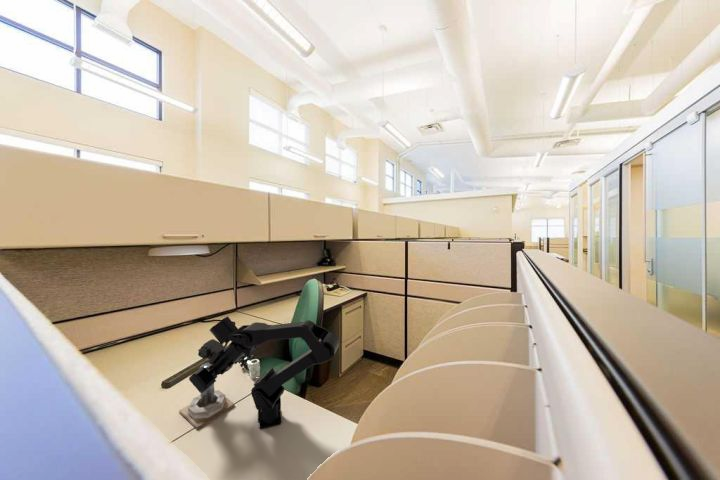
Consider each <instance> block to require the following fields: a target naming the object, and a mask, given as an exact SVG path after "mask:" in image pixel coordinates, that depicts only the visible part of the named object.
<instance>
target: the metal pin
mask: <svg viewBox="0 0 720 480" xmlns="http://www.w3.org/2000/svg"><path fill="white" fill-rule="evenodd" d="M211 365H212V364H210V363H209V362H205V363H203V364H201V365H200V366H199V369H200V368H201V367H205V368H206V369H207V370H208V371H209V369H208V368H209V367H210V366H211ZM212 369H213V368H212ZM212 369H211V370H212ZM214 391H215V382H214V383H213V384H212V385H211V386H210V387H209V388H208V389H207V390H206V391H204V392H203V393H200V395H201V404H209V403H211V402H212V401H213V400H214V399H215V394H214Z"/></svg>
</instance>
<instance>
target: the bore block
mask: <svg viewBox="0 0 720 480" xmlns="http://www.w3.org/2000/svg"><path fill="white" fill-rule="evenodd" d="M214 394H215V399H214V400H213V401H212V402H211V403H209V404H201V394H199V395H197V396H195V397H194V398H192V400H191V402H190V404H189V405H186V406H185V407H183V408H180V409H179V411H178V412H179V414H180V415H181V416H182V417H183V418H184V419H185V420H187V421H188V423H190V425H192V426H193V428H195V429H196V430H199V429H201V428H202V427H204V426H206V425H207V424H209V423H210V422H212V421H213V420H215V419H216V417H217V418H218V417H220V416H221V415H224V413H226V412H228V411H230V410H231V409H232V408H234V407H235V406H236V405H235V403H234V402H233V401H231V400H230V398H227V397H226V394H225V393H223V391H220V390H214ZM227 410H228V411H227ZM219 415H220V416H219Z"/></svg>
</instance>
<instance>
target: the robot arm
mask: <svg viewBox="0 0 720 480" xmlns="http://www.w3.org/2000/svg"><path fill="white" fill-rule="evenodd" d="M209 332H210V333H211V334H212V335H213V337H215V339H214V338H212V339H209V340H208V341H206V342H204V343H203V344H202V346H201V347H200V348H199V349H198V350H197V351H198V354H197V355H198V357H200V358H202V359H203V360H205V359H209V361H208V363H210V364H212V365H211V366H210V367H209V368H208V369H209V371H208V370H207V369H206V368H205V367H201V368H200V367H199V368H198V369H197V370H196V371H195V372H193V373H192V374H191V375H190V376H189V377H188V380H189V381H190V382H191V384H192V385H193V387H195V389H196V390H197V392H198V393H200V394H201V393H203V392H204V391H206V390H207V389H208V388H209V387H210V386H211V385H212V384H213V383H214V384H215V383H216V382H217V378H218V376H219V375H221V376H222V375H224V374H225V373H226V372H228V371H230V370H231V369H232V368H233V366H234V365H237V364H239V363H238V362H239V361H240V360H241V359H242V358H243V356H244V355H246V356H245V357H247V358H250V356H253V354H254V353H255V352H256V348H255V347H256V346H258V345H262V344H263V343H265V342H269V341H278V340H289V339H298V338H300V339H301V340H303V341H304V342H305V343H306V346H307V347H308V348H309V350H307V351H306V352H304V353H303V354H301V355H300V356H298V357H297V358H295V359H294V360H292V361H291V362H289V363H288V364H286V365H285V366H284V367H282V368H280V369H278V370H274V367H271V368H270V369H269V370H267V371H264V372H263V374H262V375H261V376H259V377H258V378H257V380H256V381H255V382H254V383H253V387H252V388H251V390H250V391H251V397H252V400H253V403H254V405H255V409H256V410H257V423H258V424H259V426H258V427H259V430H262V429H265V428H271V427H275V426H278V425H281V424H282V407H281V406H282V401H281V400H282V399H281V396H282V395H283V394H284V392H285V389H286V388H285V387H284V386H283V385H284V384H286V383H287V382H289V381H290V380H292V379H294V378H295V377H296V376H298V375H300V374H301V373H303V372H305V371H306V370H307V369H309V368H310V367H312V366H313V365H321V364H324V363H326V362H329V361H330V360H332V359H333V358H334V356H335V354H336V352H337V350H338V348H339V346H340V339H339V337H338V335H337V334H335V333H333V332H331V331H330V330H328V329H327V328H325V327H323V326H320V325H318V324H316V323H314V321H311V320H304V321H297V322H288V323H279V324H268V323H266V322H258V321H256V322H252V323H251V324H244V325H241V326H240V327H237V326H236V324H234V322H233V321H232V320H231V318H230V317H229V316H225V317H223V318H222V319H221V320H220V321H219V322H218V323H216V324H214V325H213V326H212V327H211V328H210V329H209ZM318 338H319V339H318ZM229 342H230V343H229ZM224 343H225V344H226V346H225V345H224ZM228 343H229V344H228ZM227 344H228V345H227ZM243 359H244V358H243ZM212 368H213V369H212ZM211 369H212V370H211Z"/></svg>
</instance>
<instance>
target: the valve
mask: <svg viewBox="0 0 720 480" xmlns="http://www.w3.org/2000/svg"><path fill="white" fill-rule="evenodd" d="M237 364H239V366H240V367H241V368H243V367H245V368H247V369H248V372H249V378H250V380H256V379H257V380H258V378H260V377H261V376H260V374H261V373H260V371H261V366H260V360H259V359H257V358H255V356H254V355H251V356H250V357H247V356H246V355H245V354H244V355H243V358H242V359H241V360H240V361H239V362H238V363H237ZM256 377H258V378H256Z"/></svg>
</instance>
